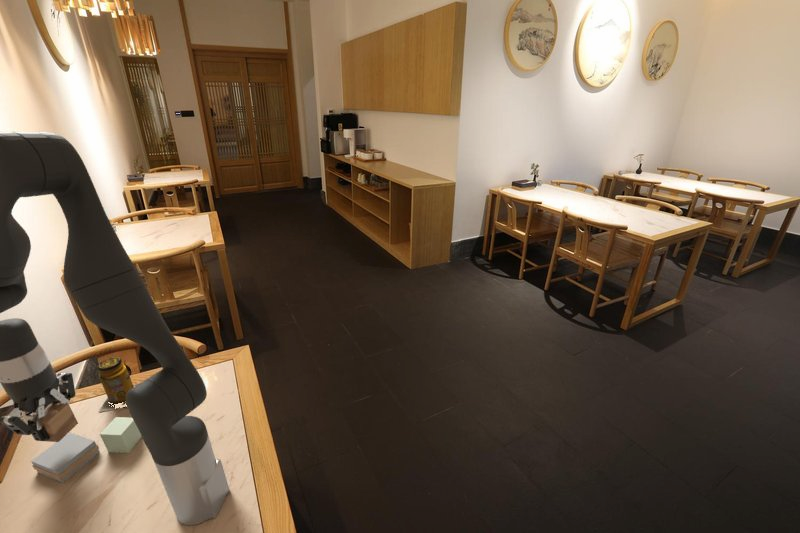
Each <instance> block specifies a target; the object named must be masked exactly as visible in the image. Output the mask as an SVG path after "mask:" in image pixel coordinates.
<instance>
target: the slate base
mask: <svg viewBox="0 0 800 533" xmlns="http://www.w3.org/2000/svg"><path fill="white" fill-rule="evenodd" d="M99 453H100V447H99V445H98V444H96V441H95V440H93V439H90V438H87V437H85V436H81V435H79V434H76V433H73V432H71V431H70V432H69V433H68V434H67V435H66V436H64V437H63V438H62V439H61V440H60V441H59V442H54V444H52V445H51V446H49V447H48V448H47V449H45V450H44V451H42V452H41V453H39V454H38V455H36V456H35V457H34V458H33V459H32V460H30V462H31V464H32V468H33V469H34V470H35V471H36V472H37V473H38V474H41V475H44V476H46V477H47V478H51V479H53V480H56V481H58V482H60V483H65V481H67V480H68V479H69V478H70V477H72V476H73V475H74V474H75V473H77V472H78V471H79V470H80V469H81V468H82V467H83V466H85V465H86V464H87V463H88V462H90V461H91V460H92V459H93V458H95V457H96V456H97V455H98V454H99Z"/></svg>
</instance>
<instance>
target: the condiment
mask: <svg viewBox="0 0 800 533" xmlns="http://www.w3.org/2000/svg"><path fill="white" fill-rule="evenodd" d="M96 368H97V370H98V378H99V381H100V384H101V385H102V387H103V390H104V391H105V394H106V396H107V397H106V399H105V401H104V402H103V404H102V405H101V407H100V408H99V409H98V413H99V412H100V413H101V412H107V411H108V412H109V411H115V410H116V409H117V410H120V409H122V408H120V407H119V408H116V409H115V405H114V404H118V403H122V402H125V401H126V395H127V393H128V391H129V390H130V389H132V388H133V387H134V386H135V385H134V384H133V381H132V379H131V376H130V373H129V371H128V369H127V367H126V365H125V364H124V363H123V360H122V358H121V357H119V356H114V357H113V356H112V357H107V358H105V359H103V360H101V361H100V362H99V363H98V365H97V367H96ZM108 402H110V403H113V404H112V405H114V407H113V406H112V405H111V404H109V403H108ZM109 405H110V406H109ZM126 405H127V404H126ZM111 406H112V407H111ZM125 407H126V406H125Z"/></svg>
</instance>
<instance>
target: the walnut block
mask: <svg viewBox="0 0 800 533" xmlns="http://www.w3.org/2000/svg"><path fill="white" fill-rule="evenodd" d="M44 413H45V416H44V417H43V421H42V423H43V426H44V427H45V429H46V431H47V433H48V434H49V436H50V439H49V440H48V441H47V442H48V443H49V442H51V443H56V442H59V441H60V440H61V439H62V438H63V437H64V436H66V435H67V434H68V433H70V432H71V431H72V430H73V429H74V428H75V427H76V426H77V425H78V424H79V422H78V420H77V418H76V416H75V414H74V412H73V409H72V408H71V406H70V403H69V404H65V403H63V404H60V403H51V404H50V405H48V406H47V407H46V409H44ZM34 414H36V413H34ZM33 422H34V423H35V421H33Z"/></svg>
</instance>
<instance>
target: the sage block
mask: <svg viewBox="0 0 800 533" xmlns="http://www.w3.org/2000/svg"><path fill="white" fill-rule="evenodd" d="M99 436H100V438H101V439H102V440H101V441H102V442H103V444H104V447H105V448H106V450H107V452H108V453H117V454H119V452H120V453H121V454H130V453H131V451H132V450H133V448H134V447H135V446H136V445H137V444H138V443H139V441H140V440H139V439H142V436H141V434H140V432H139V430H138V428H137V426H136V424H135V422H134V420H133V418H132V417H125V416H124V417H123V416H121V417H120V416H119V417H118V416H116V417H114V419H112V420H111V421H110V423H109V424H108V425H107V426H106V427H105V428H104V429H103V430H102V431H101V432H100V433H99Z"/></svg>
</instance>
